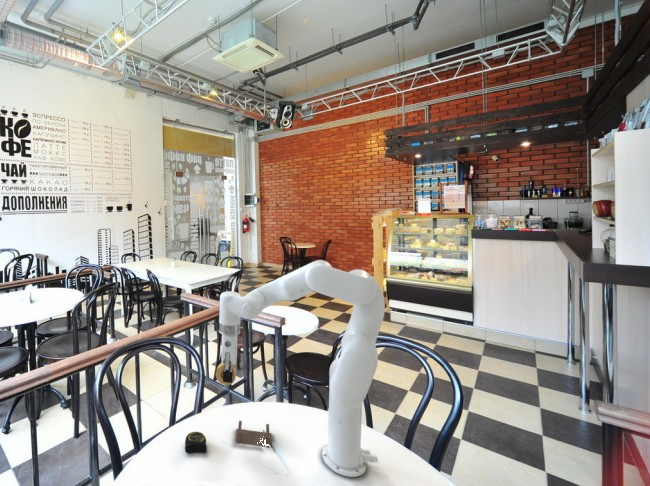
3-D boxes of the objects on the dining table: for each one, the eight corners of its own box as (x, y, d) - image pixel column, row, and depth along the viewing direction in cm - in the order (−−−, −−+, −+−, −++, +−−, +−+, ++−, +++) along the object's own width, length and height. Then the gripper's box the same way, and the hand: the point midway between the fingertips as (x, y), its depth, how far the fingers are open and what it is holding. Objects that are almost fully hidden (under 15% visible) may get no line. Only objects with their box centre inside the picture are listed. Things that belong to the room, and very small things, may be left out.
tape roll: (237, 380, 116) (234, 360, 117) (237, 384, 114) (233, 364, 114) (218, 382, 117) (215, 363, 118) (217, 386, 115) (214, 366, 115)
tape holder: (271, 435, 113) (271, 424, 113) (271, 450, 106) (272, 438, 106) (236, 431, 115) (236, 420, 115) (234, 445, 108) (235, 433, 108)
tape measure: (184, 457, 102) (184, 445, 102) (185, 441, 109) (185, 430, 109) (206, 457, 103) (206, 445, 103) (206, 441, 110) (206, 430, 109)
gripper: (238, 337, 107) (237, 393, 107) (241, 320, 123) (240, 369, 123) (216, 335, 108) (214, 390, 108) (221, 319, 124) (220, 367, 124)
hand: (228, 379), depth 116 cm, fingers closed on tape roll, 2 cm apart
